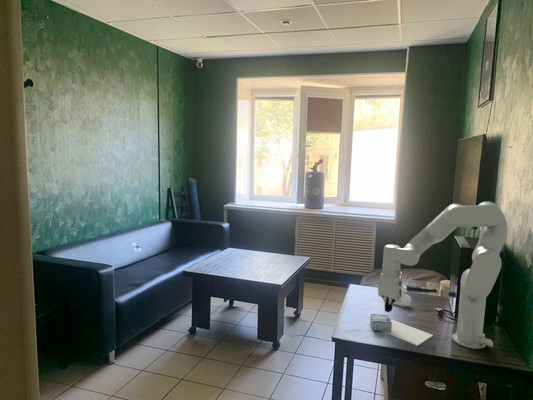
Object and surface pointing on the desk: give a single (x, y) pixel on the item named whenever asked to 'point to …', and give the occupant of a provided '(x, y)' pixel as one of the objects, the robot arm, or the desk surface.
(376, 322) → the medicine box
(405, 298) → the bust
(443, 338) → the desk surface
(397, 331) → the mat
